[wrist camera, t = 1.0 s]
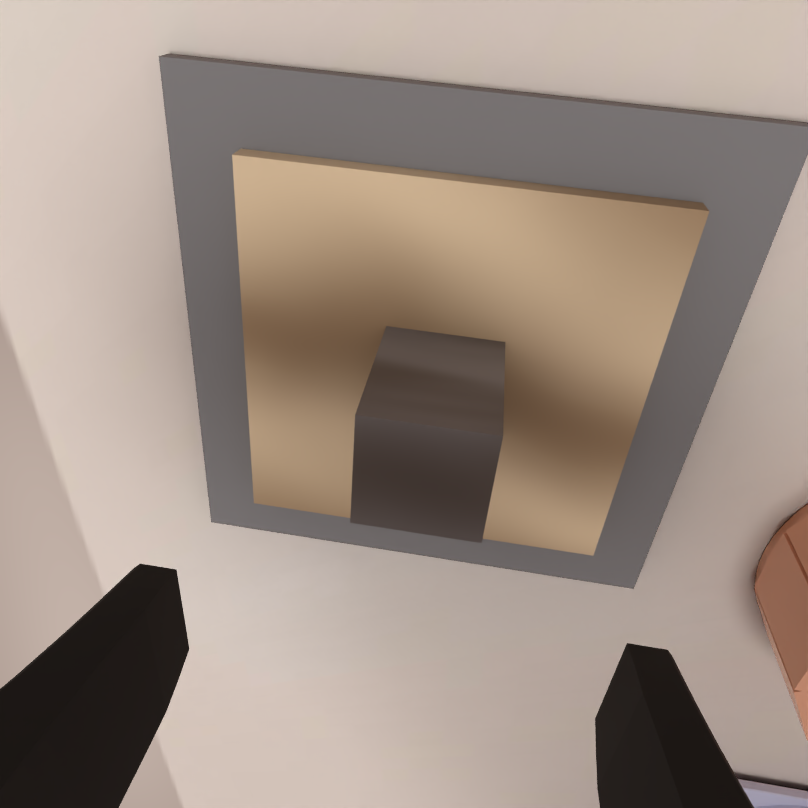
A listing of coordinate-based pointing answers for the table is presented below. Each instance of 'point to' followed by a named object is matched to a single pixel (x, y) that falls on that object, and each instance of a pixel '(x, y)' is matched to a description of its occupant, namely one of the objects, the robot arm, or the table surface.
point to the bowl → (788, 605)
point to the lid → (450, 343)
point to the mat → (485, 157)
